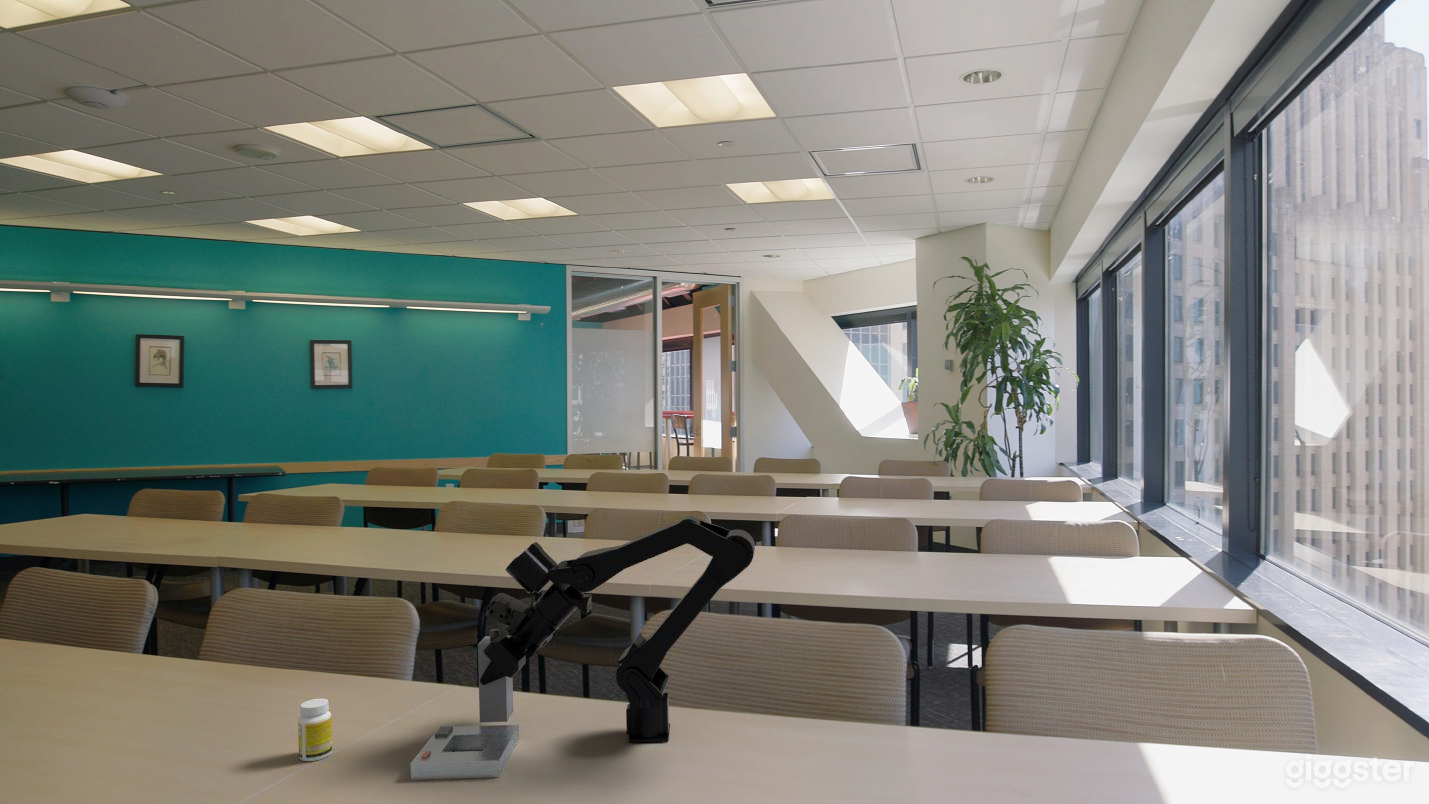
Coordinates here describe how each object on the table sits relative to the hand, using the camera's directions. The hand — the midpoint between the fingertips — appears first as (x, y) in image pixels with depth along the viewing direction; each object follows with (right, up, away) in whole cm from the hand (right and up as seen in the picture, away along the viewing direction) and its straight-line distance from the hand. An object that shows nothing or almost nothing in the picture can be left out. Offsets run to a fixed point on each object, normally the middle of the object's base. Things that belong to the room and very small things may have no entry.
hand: (487, 677), depth 134 cm
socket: (0, -9, -10) cm, 14 cm away
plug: (+2, -7, 0) cm, 7 cm away
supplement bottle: (-25, -10, -8) cm, 28 cm away
